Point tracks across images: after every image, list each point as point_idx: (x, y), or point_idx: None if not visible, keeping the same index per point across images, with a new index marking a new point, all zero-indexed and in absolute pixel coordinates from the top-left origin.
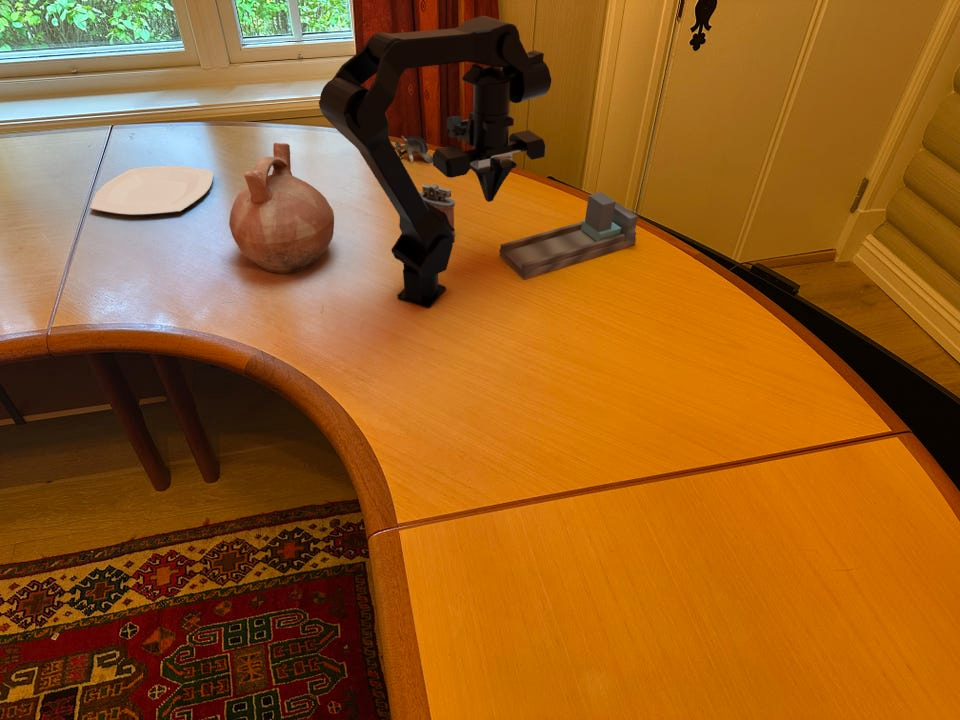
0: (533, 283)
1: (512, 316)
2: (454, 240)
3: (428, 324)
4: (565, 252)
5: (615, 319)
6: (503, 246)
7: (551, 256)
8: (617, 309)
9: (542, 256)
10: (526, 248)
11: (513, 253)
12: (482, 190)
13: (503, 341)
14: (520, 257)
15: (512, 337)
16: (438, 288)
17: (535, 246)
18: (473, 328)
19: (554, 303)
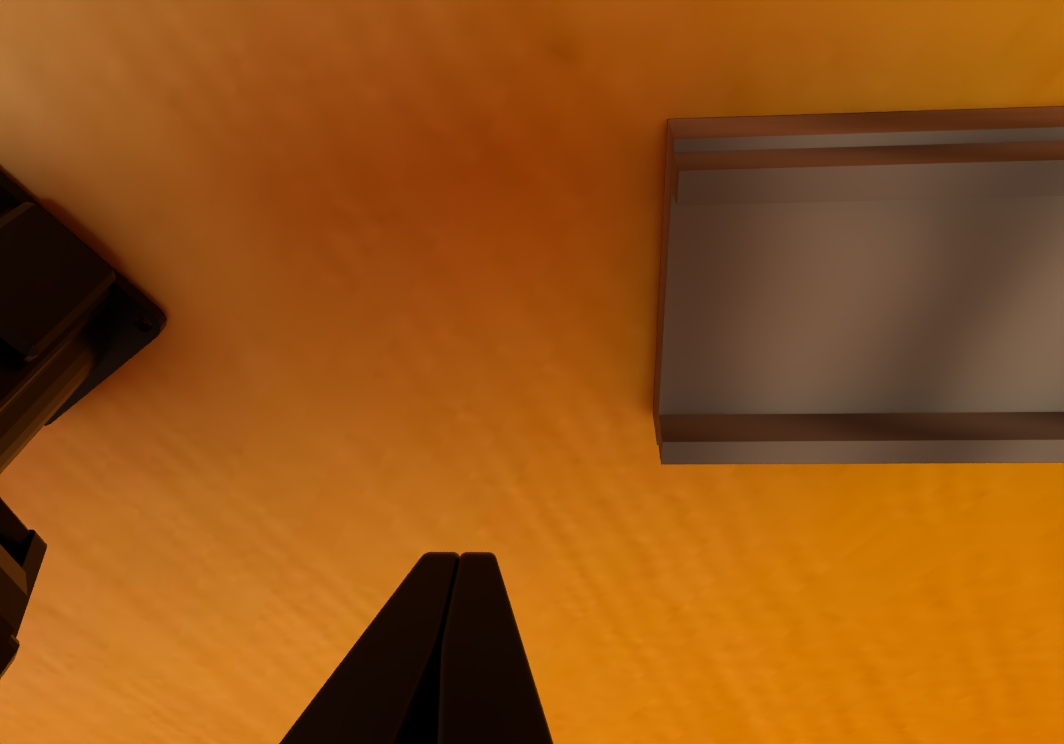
0: None
1: None
2: (14, 655)
3: (42, 500)
4: (1011, 453)
5: (807, 732)
6: (683, 203)
7: (892, 451)
8: (867, 704)
9: (884, 354)
10: (868, 222)
11: (733, 238)
12: (343, 665)
13: None
14: (743, 302)
15: None
16: (112, 320)
17: (950, 227)
18: (242, 585)
19: (661, 597)
